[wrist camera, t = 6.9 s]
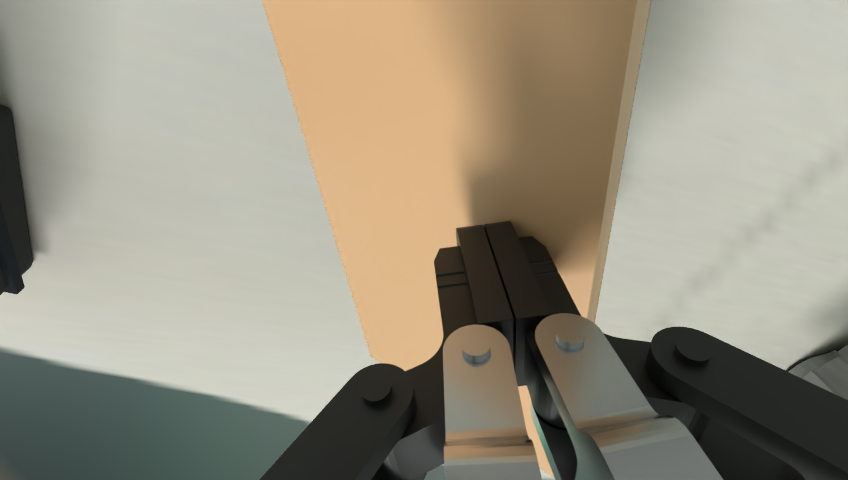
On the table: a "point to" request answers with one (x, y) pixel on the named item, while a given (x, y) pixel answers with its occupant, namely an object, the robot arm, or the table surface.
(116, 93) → the table surface
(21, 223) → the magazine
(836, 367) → the electrical outlet
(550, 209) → the tan flat rectangular panel
